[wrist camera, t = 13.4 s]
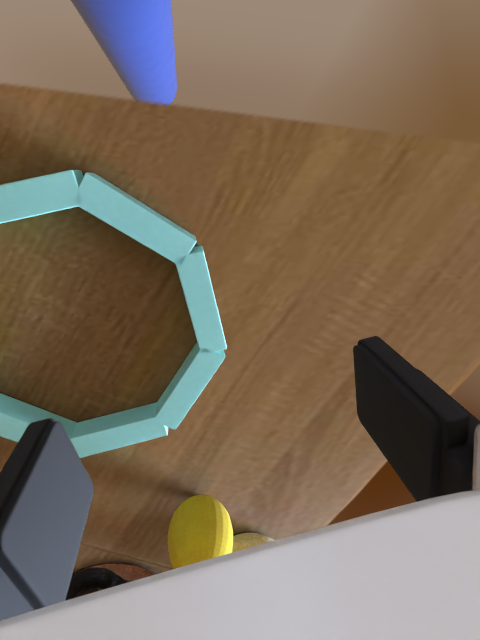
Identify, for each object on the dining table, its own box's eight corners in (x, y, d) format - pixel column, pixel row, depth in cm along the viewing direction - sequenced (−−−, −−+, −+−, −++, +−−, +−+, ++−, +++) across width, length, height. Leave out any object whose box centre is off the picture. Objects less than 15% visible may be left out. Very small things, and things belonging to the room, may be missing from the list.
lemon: (201, 465, 33) (207, 549, 25) (238, 495, 35) (253, 581, 27) (157, 499, 33) (149, 590, 26) (196, 526, 35) (199, 618, 28)
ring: (-145, 217, 21) (-175, 221, 20) (178, 149, 23) (178, 146, 21) (6, 461, 29) (-6, 480, 27) (239, 401, 30) (243, 415, 29)
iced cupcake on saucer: (201, 598, 38) (150, 732, 32) (153, 569, 45) (103, 673, 39) (116, 553, 33) (37, 701, 27) (77, 529, 40) (7, 641, 34)
